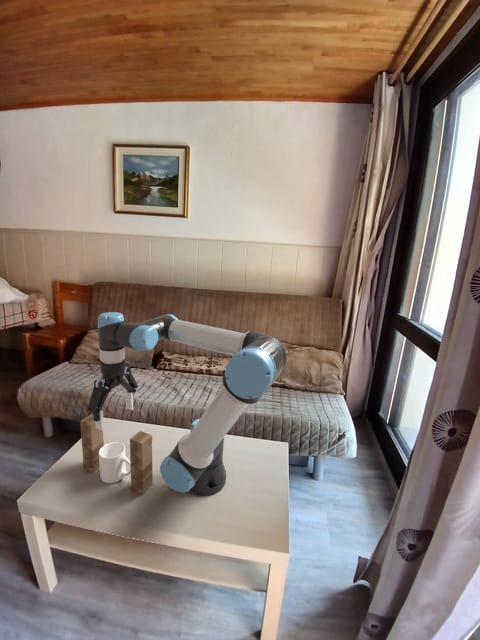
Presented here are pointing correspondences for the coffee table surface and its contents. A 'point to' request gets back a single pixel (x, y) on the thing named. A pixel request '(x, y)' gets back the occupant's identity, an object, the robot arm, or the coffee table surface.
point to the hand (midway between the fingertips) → (115, 418)
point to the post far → (91, 443)
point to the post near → (141, 462)
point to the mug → (113, 462)
